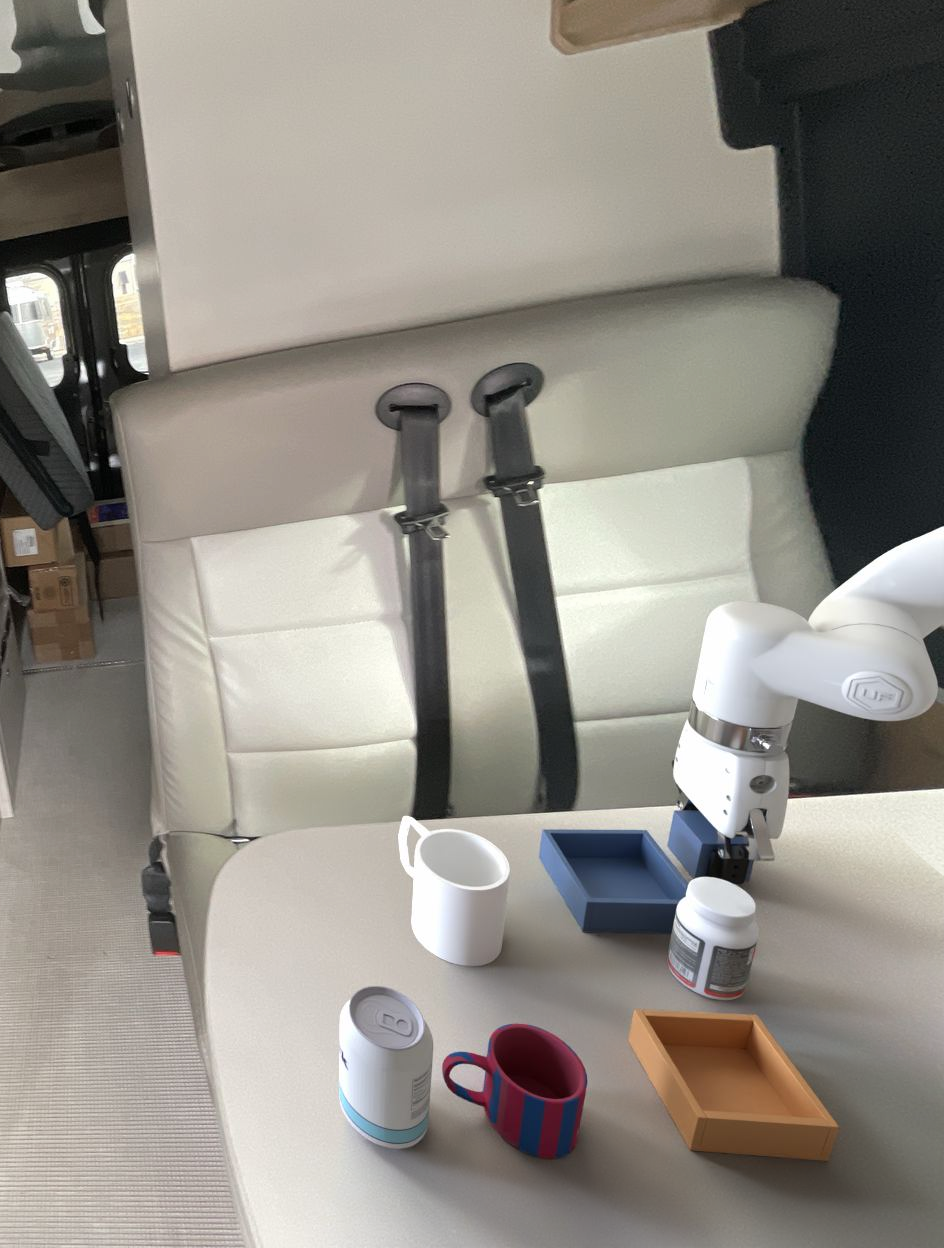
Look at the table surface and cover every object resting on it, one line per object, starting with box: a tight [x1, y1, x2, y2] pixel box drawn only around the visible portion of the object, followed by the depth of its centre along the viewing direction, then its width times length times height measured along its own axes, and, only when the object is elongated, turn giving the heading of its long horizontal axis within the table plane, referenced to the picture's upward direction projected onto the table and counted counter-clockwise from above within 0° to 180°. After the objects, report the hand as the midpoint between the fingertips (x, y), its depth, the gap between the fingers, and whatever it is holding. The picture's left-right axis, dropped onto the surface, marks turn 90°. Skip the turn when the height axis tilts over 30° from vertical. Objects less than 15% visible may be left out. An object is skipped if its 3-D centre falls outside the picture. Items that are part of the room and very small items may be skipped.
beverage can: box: [338, 985, 434, 1150], centre depth 69 cm, size 7×7×12 cm
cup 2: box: [441, 1022, 588, 1160], centre depth 69 cm, size 7×10×7 cm
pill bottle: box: [666, 877, 759, 1001], centre depth 76 cm, size 6×6×10 cm
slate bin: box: [538, 828, 689, 935], centre depth 87 cm, size 10×10×4 cm
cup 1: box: [397, 815, 511, 967], centre depth 86 cm, size 8×12×10 cm
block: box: [667, 809, 755, 882], centre depth 88 cm, size 5×5×5 cm
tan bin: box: [627, 1008, 840, 1162], centre depth 68 cm, size 9×9×4 cm
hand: (707, 859), depth 89 cm, fingers closed on block, 5 cm apart
